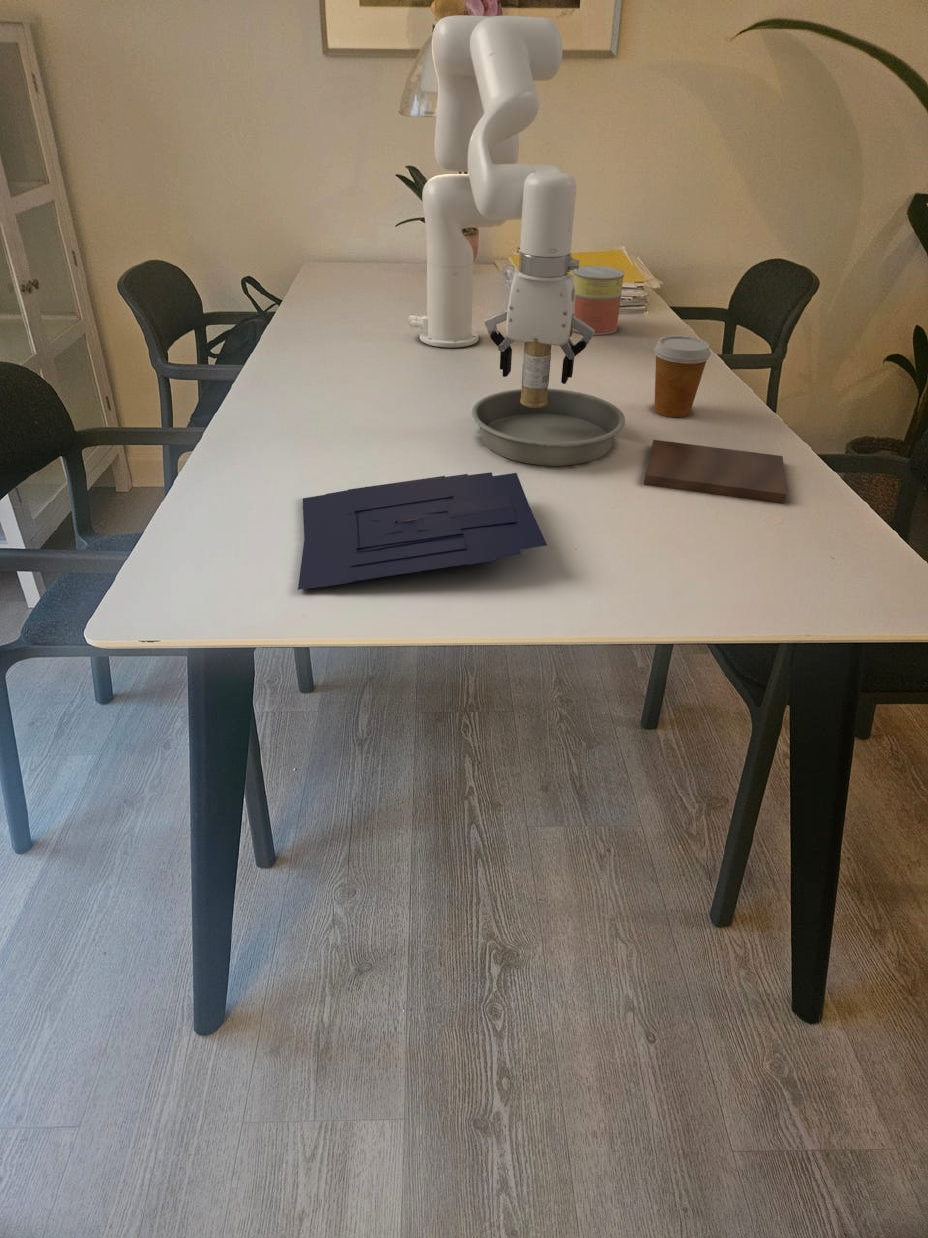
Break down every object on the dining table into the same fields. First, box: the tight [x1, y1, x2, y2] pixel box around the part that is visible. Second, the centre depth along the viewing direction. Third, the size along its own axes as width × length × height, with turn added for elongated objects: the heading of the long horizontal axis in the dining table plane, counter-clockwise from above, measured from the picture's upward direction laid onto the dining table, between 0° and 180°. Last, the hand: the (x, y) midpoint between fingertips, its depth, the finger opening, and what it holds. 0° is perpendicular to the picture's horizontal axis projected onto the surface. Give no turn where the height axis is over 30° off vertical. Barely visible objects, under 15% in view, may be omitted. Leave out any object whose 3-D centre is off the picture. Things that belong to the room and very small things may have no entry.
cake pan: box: [471, 388, 626, 467], centre depth 139 cm, size 25×25×4 cm
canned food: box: [571, 265, 625, 336], centre depth 190 cm, size 11×11×12 cm
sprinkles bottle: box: [520, 333, 552, 408], centre depth 137 cm, size 5×5×14 cm
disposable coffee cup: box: [653, 335, 712, 418], centre depth 149 cm, size 10×10×12 cm
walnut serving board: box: [643, 439, 787, 504], centre depth 130 cm, size 20×14×2 cm
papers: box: [297, 471, 548, 591], centre depth 111 cm, size 24×30×4 cm
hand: (535, 377), depth 138 cm, fingers open, 9 cm apart
